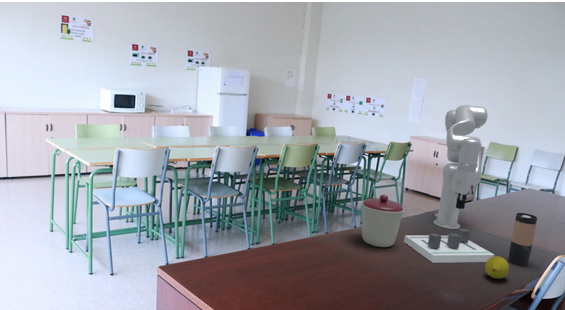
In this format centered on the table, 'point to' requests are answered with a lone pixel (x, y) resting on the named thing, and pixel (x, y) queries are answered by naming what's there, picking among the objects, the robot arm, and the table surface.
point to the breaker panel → (448, 250)
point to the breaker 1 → (434, 240)
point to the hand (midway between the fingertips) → (459, 208)
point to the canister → (380, 221)
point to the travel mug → (522, 239)
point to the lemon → (497, 267)
